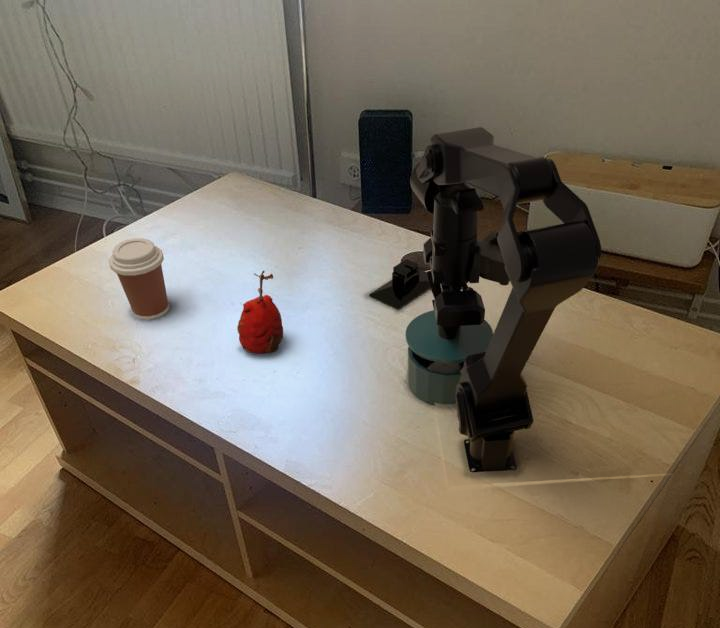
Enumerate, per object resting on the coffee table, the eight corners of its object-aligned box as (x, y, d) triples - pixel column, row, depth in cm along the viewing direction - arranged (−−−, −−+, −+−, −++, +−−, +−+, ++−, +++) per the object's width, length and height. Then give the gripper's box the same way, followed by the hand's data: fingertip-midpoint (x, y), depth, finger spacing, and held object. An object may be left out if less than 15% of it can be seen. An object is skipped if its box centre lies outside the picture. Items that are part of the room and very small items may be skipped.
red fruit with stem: (268, 327, 124) (255, 248, 113) (295, 344, 121) (284, 263, 110) (233, 347, 121) (216, 267, 110) (259, 365, 117) (245, 284, 106)
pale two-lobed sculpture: (445, 401, 110) (418, 383, 111) (469, 371, 115) (443, 354, 115) (454, 383, 107) (426, 364, 107) (479, 353, 111) (451, 336, 112)
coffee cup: (140, 292, 134) (122, 232, 125) (185, 298, 132) (169, 237, 123) (116, 320, 128) (95, 259, 119) (162, 327, 126) (144, 265, 117)
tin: (489, 404, 108) (493, 372, 104) (411, 408, 108) (412, 377, 104) (477, 356, 116) (481, 325, 112) (405, 360, 116) (405, 329, 112)
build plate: (398, 311, 126) (397, 287, 123) (367, 296, 130) (366, 273, 126) (442, 280, 132) (443, 257, 129) (411, 267, 136) (411, 244, 132)
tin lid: (499, 364, 102) (504, 327, 98) (409, 369, 102) (409, 333, 98) (485, 312, 111) (488, 277, 106) (402, 317, 111) (402, 282, 107)
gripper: (531, 265, 88) (516, 367, 99) (503, 195, 100) (493, 292, 112) (439, 270, 88) (435, 372, 99) (424, 199, 100) (421, 297, 112)
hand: (449, 331), depth 105 cm, fingers closed on tin lid, 3 cm apart
